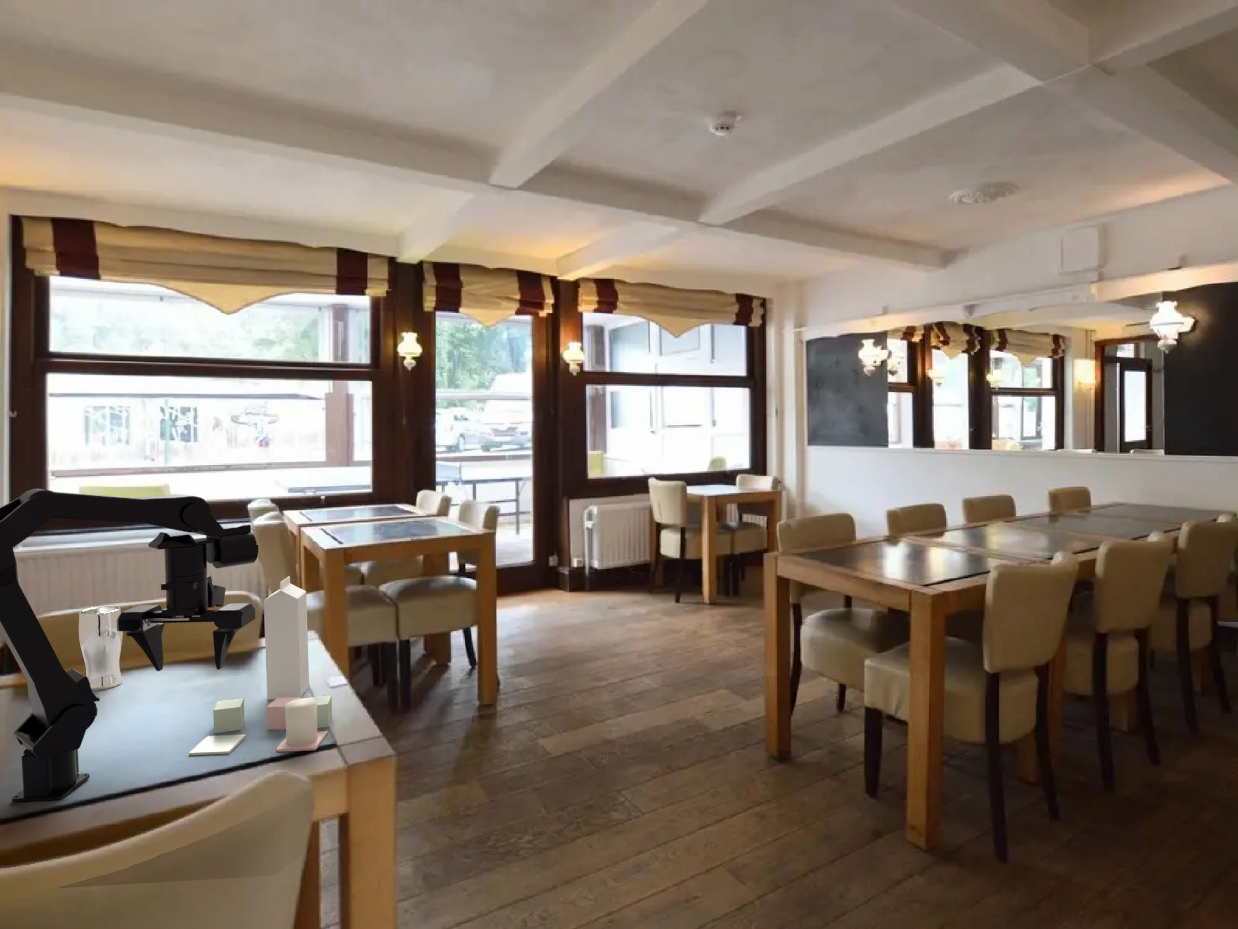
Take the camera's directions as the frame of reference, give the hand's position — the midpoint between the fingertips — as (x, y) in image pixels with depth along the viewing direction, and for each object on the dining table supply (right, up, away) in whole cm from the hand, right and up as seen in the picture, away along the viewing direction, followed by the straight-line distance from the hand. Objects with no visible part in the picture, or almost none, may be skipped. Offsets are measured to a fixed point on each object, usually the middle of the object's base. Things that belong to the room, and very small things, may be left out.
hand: (189, 669), depth 115 cm
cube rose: (+12, -12, +7) cm, 18 cm away
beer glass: (-33, -11, +26) cm, 43 cm away
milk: (+6, -11, +21) cm, 25 cm away
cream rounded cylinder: (+18, -11, 0) cm, 21 cm away
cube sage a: (+17, -12, +8) cm, 22 cm away
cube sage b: (+3, -12, +7) cm, 14 cm away
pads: (+11, -12, 0) cm, 16 cm away
